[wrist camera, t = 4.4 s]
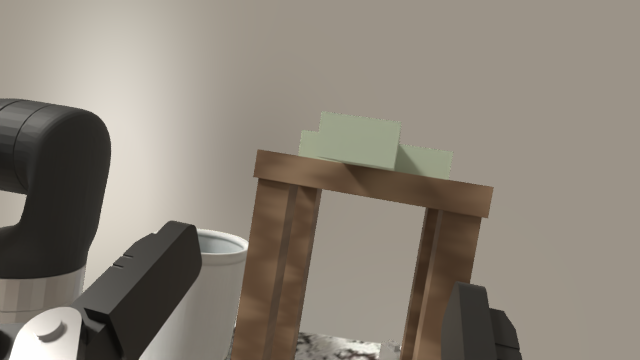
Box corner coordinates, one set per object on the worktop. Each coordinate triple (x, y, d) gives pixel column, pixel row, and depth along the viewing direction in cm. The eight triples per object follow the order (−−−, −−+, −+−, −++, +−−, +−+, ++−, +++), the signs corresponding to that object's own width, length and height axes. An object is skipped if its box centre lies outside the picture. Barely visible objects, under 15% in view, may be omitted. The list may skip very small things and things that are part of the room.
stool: (192, 568, 28) (257, 149, 27) (256, 445, 41) (302, 158, 39) (407, 657, 25) (493, 187, 23) (403, 494, 38) (459, 183, 36)
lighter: (376, 367, 61) (384, 320, 61) (384, 366, 62) (392, 319, 62) (406, 394, 55) (415, 342, 55) (414, 392, 56) (423, 340, 56)
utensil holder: (243, 335, 65) (259, 237, 64) (218, 386, 50) (237, 259, 49) (161, 321, 65) (175, 223, 64) (111, 367, 50) (129, 240, 49)
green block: (237, 143, 17) (243, 100, 17) (321, 160, 37) (324, 141, 37) (485, 183, 15) (494, 134, 15) (434, 179, 35) (438, 158, 35)
